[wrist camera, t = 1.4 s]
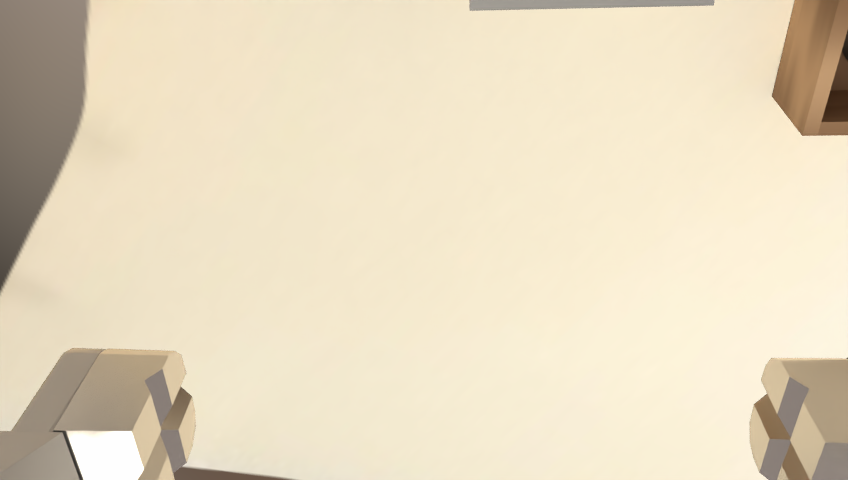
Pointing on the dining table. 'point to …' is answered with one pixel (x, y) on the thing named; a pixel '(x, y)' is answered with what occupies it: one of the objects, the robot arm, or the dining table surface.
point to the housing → (578, 4)
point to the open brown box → (815, 68)
